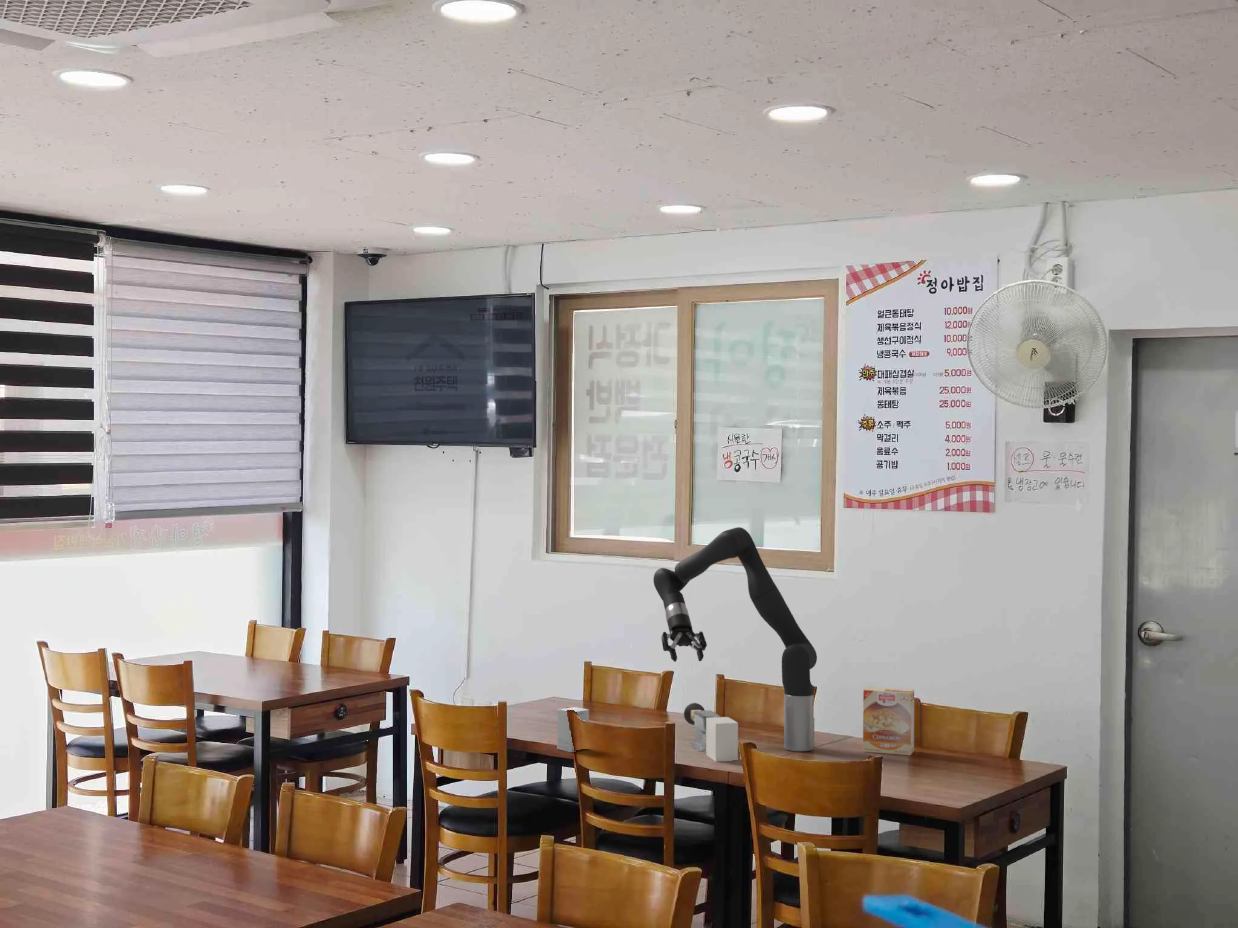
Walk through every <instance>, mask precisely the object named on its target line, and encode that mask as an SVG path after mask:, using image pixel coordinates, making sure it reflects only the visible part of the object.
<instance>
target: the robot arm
mask: <svg viewBox="0 0 1238 928" xmlns="http://www.w3.org/2000/svg"><path fill="white" fill-rule="evenodd" d="M735 558H738V559H739V561H740V562H741V565H742V566H743V568H744V571H745V573H746V577H747V578H746V579H747V589H748V594H749V598H750V600H751V603H752V604H753V606H754V607H755V609H756V611H757V612H758V614H759V615H760V617H761V619H763V621H764V622H766V624H767V625H769V627H770V628H771V629H772V630H774V631H775V633H776V634H777V636H779V637H780V640H781V642H782V643H783V644H784V647H785V649H784V650H783V653H782V654H781V680H782V681H781V683H782V687H783V692H784V694H783V695H784V702H783V704H784V705H783V706H784V707H783V708H784V713H783V715H784V717H783V718H784V719H783V720H784V722H783V724H784V725H783V727H784V728H783V748H784V749H785V750H787V751H792V752H809V751H813V750H814V748H815V717H814V716H815V715H814V713H815V712H814V711H815V708H814V706H815V704H814V703H815V700H814V699H815V698H814V697H815V692H814V691H815V689H814V688H815V687H814V685H813V684H812V682H811V670H812V669H813V668H814V667H815V666H816V664H817V660H818V656H817V652H816V649H815V648H814V646H813V645H812V643H811V641H810V640H809V639H808V637H807V636H806V634H805V633H804V632H803V630H802V629H801V628H800V626H799V624H798V623H797V621H796V619H795V617H794V615H793V613H792V612H791V610H790V608H789V606H788V604H787V603H786V601H785V599H784V596H783V595H782V594H781V592H780V590H779V588H778V586H777V585H776V583H775V581H774V580H773V578H772V577H771V575H770V573H769V571H768V569H767V567H766V565H765V563H764V562H763V559H762V558H761V555H760V553H759V551H758V548H757V546H756V545H755V541H754V540H753V538H752V536H751V535H750V533H749V531H747V530H746V529H745V528H743V527H740V526H738V527H733V528H729V529H726V530H724V531H721V533H719V534H718V535H716V537H714V539H713V540H712V541H710V542H709V543H708V544H707V545H705V547H703V548H702V549H700V550H698V551H697V552H695V553H693V554H691V555H689V556H687V557H686V558H684V559H683V560H681V561H679V562H678V563H677V564H675V566H674V571H673V570H671V569H669V568H665V567H660V568H658V569H656V571H655V572H654V575H653V581H652V582H653V585H654V588H655V591H656V593H658V596H659V597H660V599H661V600H662V604H663V608H664V612H665V619H666V624H667V627H668V631H669V633H667V632H666V631H663V632H662V634H661V637H660V639H661V644H662V650H663V652H669V655H670V659H671V660H672V661H673V662H677V660H678V655H677V652H676V648H677V646H679V647H690V648H691V649H693V650H695V651H696V655H697V660H698V661H699V662H702V661H703V659H704V652H703V651H705V650H706V648H707V646H708V644H707V642H706V637H705V636H704V632H703V631H699V632H697V633H695V632H694V631H693V626H692V622H691V621H692V620H691V618H690V615H689V610H688V608H687V606H686V602H685V601H686V600H685V597H684V595H683V593H682V592H681V591H682V590H683V589H684V588H685V587H686V586H687V585H688V583H689V582H690V581H692V580H693V579H695V578H697V577H699V576H700V575H702V574H703V573H705V572H706V571H707V570H708V569H709V568H710V567H712V566H713V565H715V564H717V563H719V562H723V561H725V560H728V559H735ZM669 639H670V640H671V641H672V642H671V643H672V644H671V645H669Z"/></svg>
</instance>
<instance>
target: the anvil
mask: <svg viewBox="0 0 1238 928" xmlns="http://www.w3.org/2000/svg"><path fill="white" fill-rule="evenodd" d="M714 717H721V716H720V715H719V714H717V713H716V712H714V711H713V710H712V709H711V710H710V709H709V710H708V709H707V710H705V711H695V725H694V729H695V731H694V733H695V734H694V737H695V739H694V740H695V741H692V742H691V741H690V742H687V744H688V746H690V747H691V746H692V747H691V748H692V749H694V750H695V751H697V752H701V751H703V752H706V718H714ZM701 753H702V752H701Z"/></svg>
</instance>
